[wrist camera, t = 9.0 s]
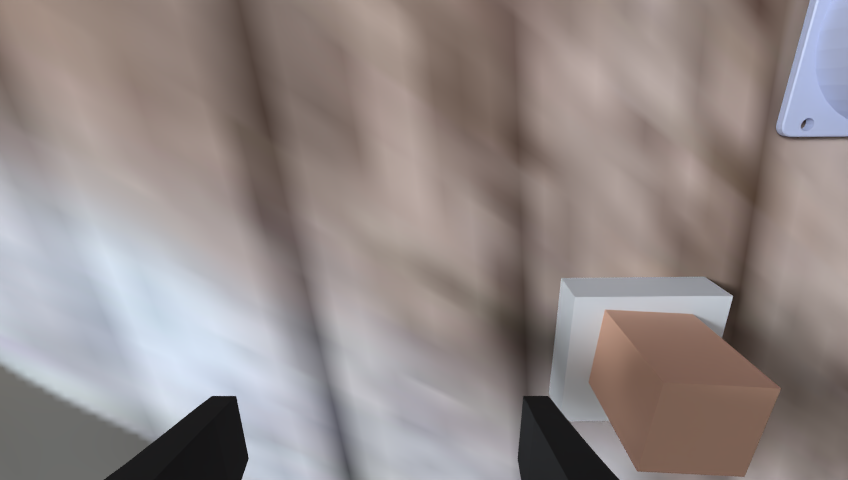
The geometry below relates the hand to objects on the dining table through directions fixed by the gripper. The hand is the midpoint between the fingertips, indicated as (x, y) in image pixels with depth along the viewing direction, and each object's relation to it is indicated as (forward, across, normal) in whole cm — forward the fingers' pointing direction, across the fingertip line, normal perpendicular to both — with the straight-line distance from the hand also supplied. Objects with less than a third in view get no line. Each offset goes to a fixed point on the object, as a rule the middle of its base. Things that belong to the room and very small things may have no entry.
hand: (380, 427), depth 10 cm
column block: (+8, -11, +4) cm, 14 cm away
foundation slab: (+11, -11, +4) cm, 16 cm away
